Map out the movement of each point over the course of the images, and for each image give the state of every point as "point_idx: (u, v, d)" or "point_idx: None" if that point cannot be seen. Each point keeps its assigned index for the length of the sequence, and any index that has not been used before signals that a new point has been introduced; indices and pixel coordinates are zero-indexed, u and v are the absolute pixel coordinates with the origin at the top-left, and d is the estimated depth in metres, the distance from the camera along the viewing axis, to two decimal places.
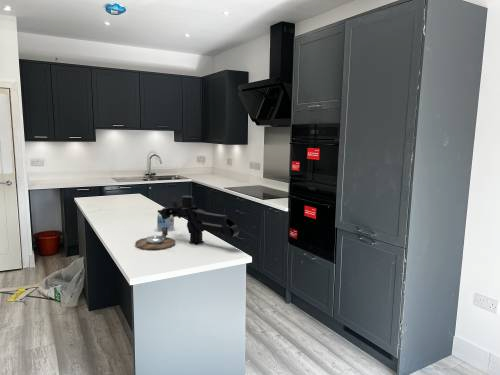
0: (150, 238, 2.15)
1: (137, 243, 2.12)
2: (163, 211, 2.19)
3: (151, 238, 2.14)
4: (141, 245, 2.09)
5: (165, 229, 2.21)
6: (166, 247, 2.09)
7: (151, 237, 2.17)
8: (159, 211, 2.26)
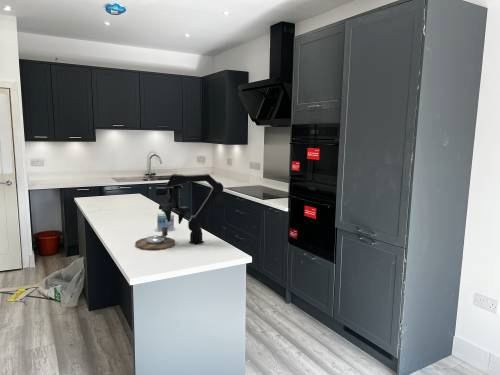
0: (150, 238, 2.15)
1: (137, 243, 2.12)
2: (185, 210, 2.11)
3: (151, 238, 2.14)
4: (141, 245, 2.09)
5: (165, 229, 2.21)
6: (166, 247, 2.09)
7: (151, 237, 2.17)
8: (180, 220, 2.16)
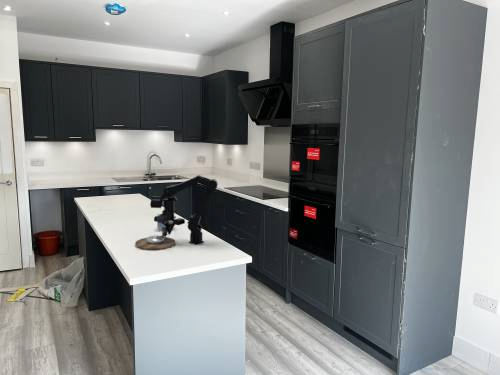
0: (150, 238, 2.14)
1: (137, 243, 2.12)
2: (180, 222, 2.14)
3: (151, 238, 2.14)
4: (141, 245, 2.09)
5: (165, 229, 2.21)
6: (166, 247, 2.09)
7: (151, 237, 2.17)
8: (170, 231, 2.20)
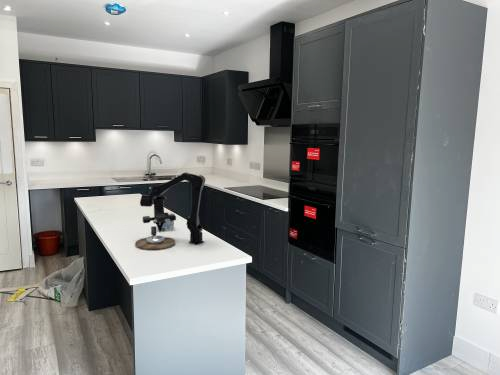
0: (152, 239, 2.13)
1: (137, 243, 2.12)
2: (175, 217, 2.25)
3: (154, 239, 2.13)
4: (141, 245, 2.09)
5: (155, 228, 2.22)
6: (166, 247, 2.09)
7: (150, 238, 2.14)
8: None
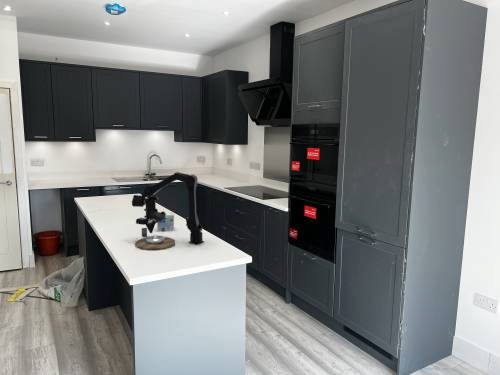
0: (156, 239, 2.13)
1: (137, 243, 2.12)
2: None
3: (157, 239, 2.14)
4: (141, 245, 2.09)
5: None
6: (166, 247, 2.09)
7: (153, 239, 2.13)
8: None
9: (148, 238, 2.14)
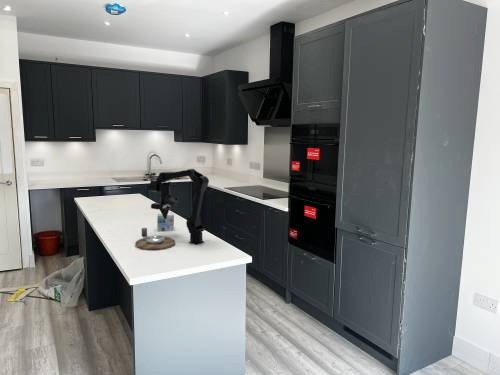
0: (156, 239, 2.13)
1: (137, 243, 2.12)
2: None
3: (157, 239, 2.14)
4: (141, 245, 2.09)
5: None
6: (166, 247, 2.09)
7: (153, 239, 2.13)
8: None
9: (148, 238, 2.14)
